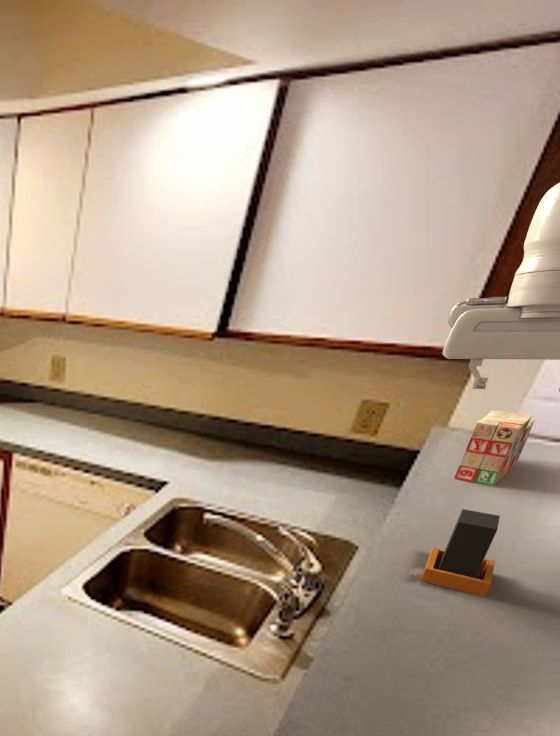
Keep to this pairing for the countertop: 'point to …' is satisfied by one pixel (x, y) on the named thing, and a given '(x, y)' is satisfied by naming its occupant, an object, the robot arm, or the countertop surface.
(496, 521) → the black rectangular block
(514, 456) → the stack of blocks
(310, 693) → the countertop surface
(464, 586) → the orange rectangular frame
